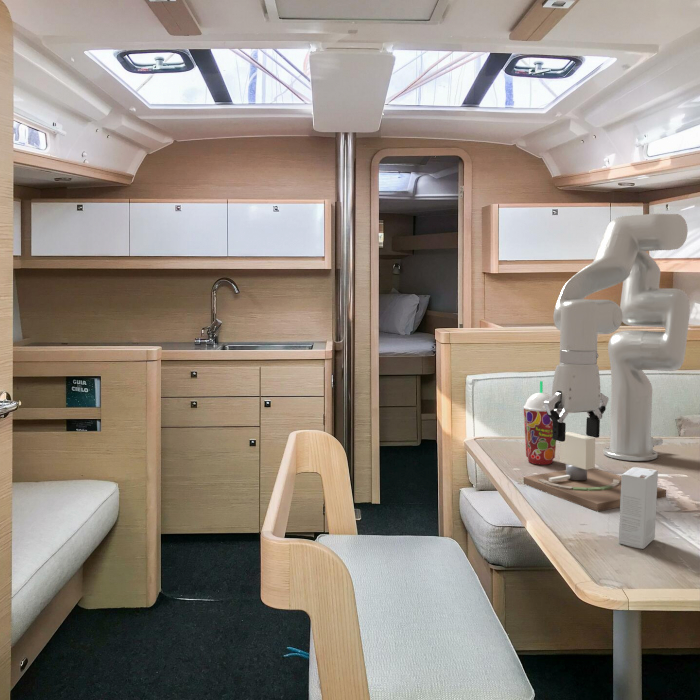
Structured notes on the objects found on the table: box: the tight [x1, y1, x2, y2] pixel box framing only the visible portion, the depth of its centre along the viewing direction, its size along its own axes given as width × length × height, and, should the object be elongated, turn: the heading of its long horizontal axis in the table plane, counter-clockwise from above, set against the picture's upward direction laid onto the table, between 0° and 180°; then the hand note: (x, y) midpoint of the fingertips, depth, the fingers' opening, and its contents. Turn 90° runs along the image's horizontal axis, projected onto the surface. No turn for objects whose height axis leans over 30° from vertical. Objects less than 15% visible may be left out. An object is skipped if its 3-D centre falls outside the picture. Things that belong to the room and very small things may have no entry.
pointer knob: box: [549, 431, 596, 482], centre depth 144 cm, size 10×8×9 cm
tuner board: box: [522, 467, 667, 512], centre depth 143 cm, size 19×21×2 cm
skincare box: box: [618, 466, 659, 550], centre depth 113 cm, size 6×4×12 cm
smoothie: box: [523, 380, 557, 466], centre depth 165 cm, size 8×8×20 cm
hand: (575, 438), depth 145 cm, fingers open, 9 cm apart
